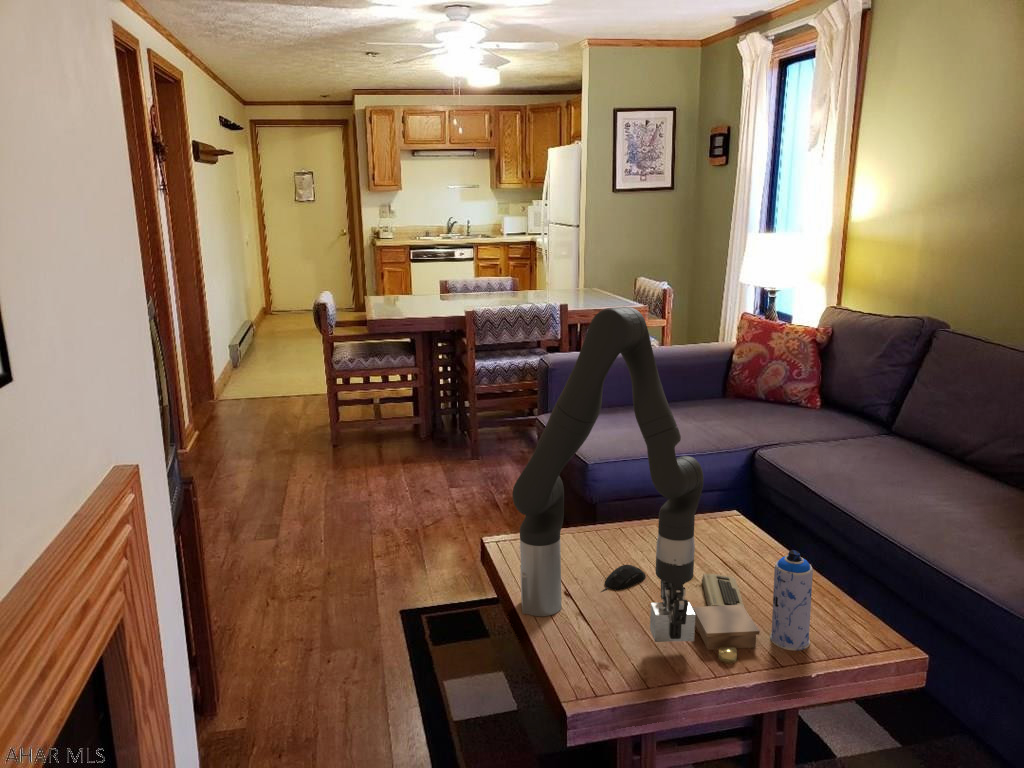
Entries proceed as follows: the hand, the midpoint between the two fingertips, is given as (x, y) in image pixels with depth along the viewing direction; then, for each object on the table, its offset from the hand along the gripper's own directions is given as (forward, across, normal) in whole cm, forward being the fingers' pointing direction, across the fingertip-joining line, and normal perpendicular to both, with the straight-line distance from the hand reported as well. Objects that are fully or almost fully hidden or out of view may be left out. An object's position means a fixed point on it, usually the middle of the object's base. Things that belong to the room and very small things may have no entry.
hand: (671, 630), depth 160 cm
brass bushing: (+5, +4, +11) cm, 12 cm away
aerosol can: (+4, -2, +26) cm, 26 cm away
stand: (+5, -5, +13) cm, 14 cm away
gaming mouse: (+6, -31, -5) cm, 32 cm away
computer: (+5, -21, +17) cm, 27 cm away
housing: (+1, 0, 0) cm, 1 cm away
